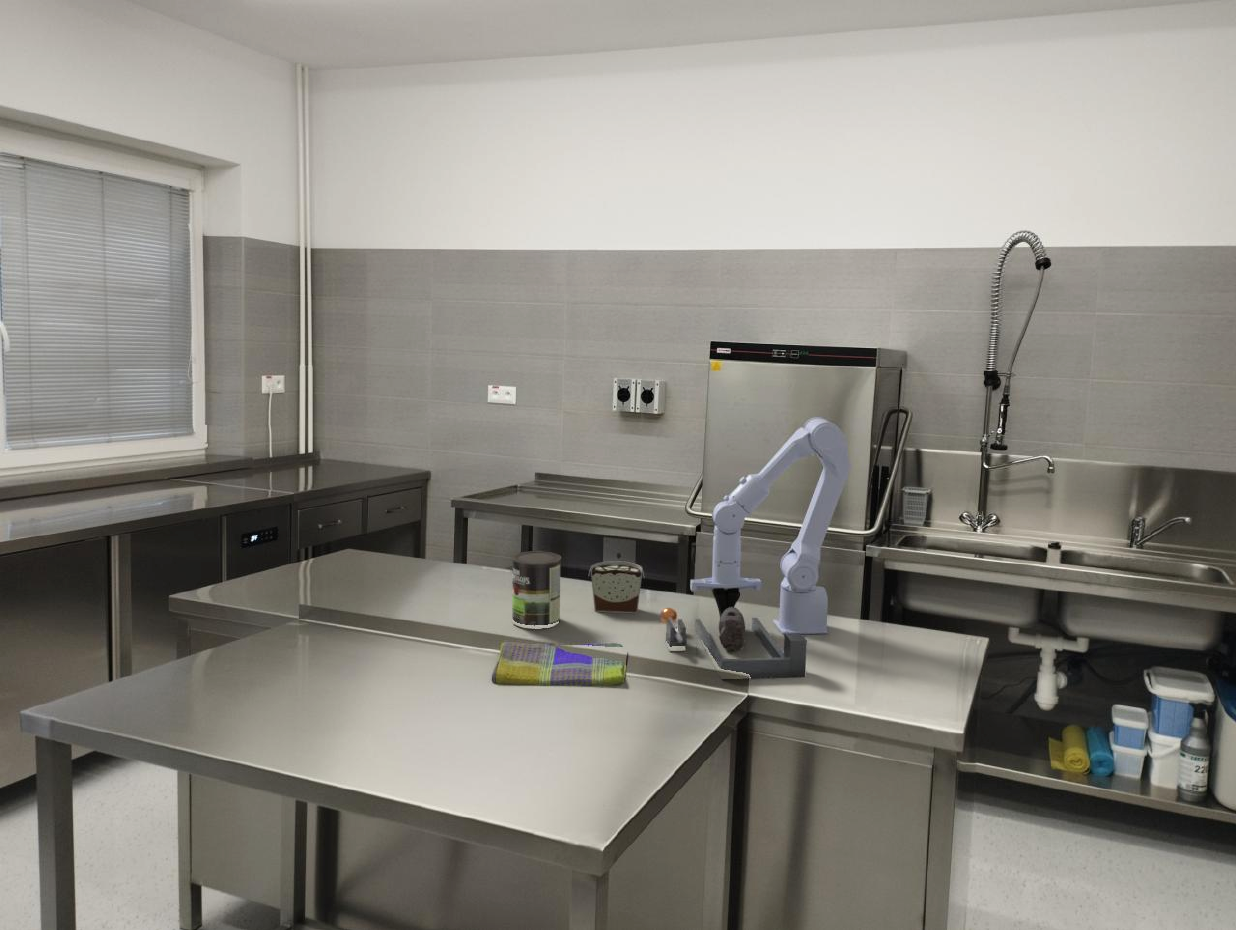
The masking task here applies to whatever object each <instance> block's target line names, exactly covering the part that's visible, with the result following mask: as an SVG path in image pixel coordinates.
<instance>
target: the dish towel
mask: <svg viewBox="0 0 1236 930" xmlns="http://www.w3.org/2000/svg"><path fill="white" fill-rule="evenodd" d="M548 644H549V643H535V644H534V643H533V644H531V643H521V642H515V641H504V642H502V643H501V645H500V652H499V655H498V659H497V661H496V664H495V665H494V668H493V670H492V674H491V682H493V683H496V684H498V685H499V684H500V685H503V684H504V685H505V684H506V685H523V686H524V685H525V686H526V685H527V686H566V687H568V686H608V685H616V684H623V683H625V678H626V671H627V666H626V665H623V662H621V661H615V660H608V659H604V658H593V657H590V656H587V655H582V654H577V653H570V652H565V651H564V650H562V649H560V648H558V647H554V646H549V645H548ZM580 645H588V646H589V645H592V646H605V647H623V645H622V644H621V643H617V642H609V643H608V642H606V643H605V642H602V643H601V642H595V643H580ZM623 648H624V647H623Z"/></svg>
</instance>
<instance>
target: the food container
mask: <svg viewBox="0 0 1236 930" xmlns="http://www.w3.org/2000/svg"><path fill="white" fill-rule="evenodd" d="M587 576H588V577H591V587H592V588H591V589H592V599H593V607H594V612H598V613H599V612H600V613H620V614H638V612H639V611H638V610H639V601H640V594H641V585H642V578H643V579H645V577H646V576H645V572H644V570H643V567H642V565H639V564H637V563H634V562H629V561H621V560H620V561H617V560H616V561H615V560H613V561H612V560H611V561H603V562H597V563H595V564H593V565H591V566H590V569H589V571H588V575H587Z"/></svg>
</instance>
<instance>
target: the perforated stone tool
mask: <svg viewBox="0 0 1236 930" xmlns="http://www.w3.org/2000/svg"><path fill="white" fill-rule="evenodd" d="M718 633H719V635H718V637H719V639H718V640H719V641H720V644H721V646H722V648H724V649H725V650H728V649H730V650H729V651H737V652H738V651H740V650H742V649H743V646H744V644H745V640H746V622H745V618H744V615H743V614H742V612H741V611H740V610H739V609H738V608H737V607H735V606H734V607H729V608H727V609H726V610H725V611H724V612H723V613H722V615H721V618H720V617H719V622H718Z"/></svg>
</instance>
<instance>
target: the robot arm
mask: <svg viewBox="0 0 1236 930" xmlns="http://www.w3.org/2000/svg"><path fill="white" fill-rule="evenodd" d="M847 446H848V445H847V437H846V435H845V434H844V433H843V432H842V430H841V428H840V427H839V426H838V425H837V424H835V423H834V422H830V421H829V420H827V419H826V418H824V417H820V416H816V417H812V418H810V419H808V420H807V421H806V422H804V425H803V427H802V426H801V427H799V428H798V429H797V430H796V431H795V432H794V433H793V434H792V435H791V436H790V437H789V438H788V440H787V441H786V442H785V443H784V444H783V445H782V447H781V448H780V449H778V451H777V452H776V453H775V454H774V456H772V458H771V459H770V460H769V461H768V462H767V463H766V465H765V466H764V467H763V468H762V469H761V470H760V471H759V473H754V474H753V473H752V474H751V473H750V474H748V475H747V476H746V477H745V476H742V477H741V478H740V479H739V480H738V481H739V485H737V487H736V488H734V490H733V491H731V492H730V494H728V495H727V494H726V495H725V496H724V497H723V501H720V502H719V503H717V504H715V506H714V509H713V512H712V513H711V518H712V521H713V523H714V524H715V525H714V529H713V534H714V535H713V537H712V538H713V539H712V565H711V566H712V568H711V569H712V571H711V577H706V578H699V579H697V578H696V579H690V581H689V582H690V585H689V587H690V588H689V589H690V591H691V592H697V591H711V593H712V595H713V597H714V600H715V603H716V606H717V609H718V614H719V619H720V618H721V615H722V613H723V612H724V611H725V610H726V609H727V608H729V607H735V606H736V604H737V602H738V601H739V599H740V597H741V592H740V590H755V591H761V590H762V580H761V579H760V578H748V577H741V557H742V556H741V554H742V553H741V552H742V550H741V547H742V539H741V532H742V531H741V529H743V528H744V525H745V522H746V521H745V520H746V519H745V518H746V517H748V516H750V515H751V514H752V513H753V512H754V511H755V510H756V509H757V508H758V506H760V504H761V503H763V501H764V500H766V499H767V497H769V495H770V493H771V484H773V483H774V482H775V481H776V480H777V479H778V478H779V477H780V476H781V475H782V474H783V473H784V472H785V471H786V470H788V469H789V467H791V466H792V465H793V463H795V462H796V461H798V460H799V459H801V458H808V457H812V456H815V453H816V456H817V458H818V459H819V462H820V463H821V465H822V467H823V468H822V470H821V474H820V476H819V479H818V481H817V484H816V486H815V490H814V492H813V496H812V498H811V500H810V503H809V506H808V509H807V511H806V514H805V517H804V519H803V522H802V524H801V528H800V530H799V533H798V536H797V537H796V539H795V540H793V542H792V543H791V546H790V548H789V550H787V552H786V553H785V554H784V555H783V556H782V558H781V560H780V563H779V567H780V572H781V573H782V574H783V576H784V577H783V579H782V581H781V583H780V595H779V619H773V620H772V621H773V623H774V625H775V626H776V627H777V629H778V630H779V632H781V634H782V635H784V634H785V633H801V634H802V635H810V634H811V635H813V634H815V635H817V634H828V629H827V625H828V624H827V623H828V609H829V607H828V606H829V604H828V603H829V602H828V601H829V600H828V594H827V590H826V589H825V587H823V586H817V583H818V582H819V576H820V575H819V566H820V562H821V548H822V545H823V543H824V540H825V537H826V535H827V532H828V531H829V527H830V524H831V523H832V518H833V515H834V514H835V510H836V509H837V505H838V503H839V500H840V498H841V494H842V492H843V489H844V487H845V484H846V482H847V479H848V476H849V474H850V471H851V461H850V456H849V451H848V447H847ZM814 452H815V453H814Z"/></svg>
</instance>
